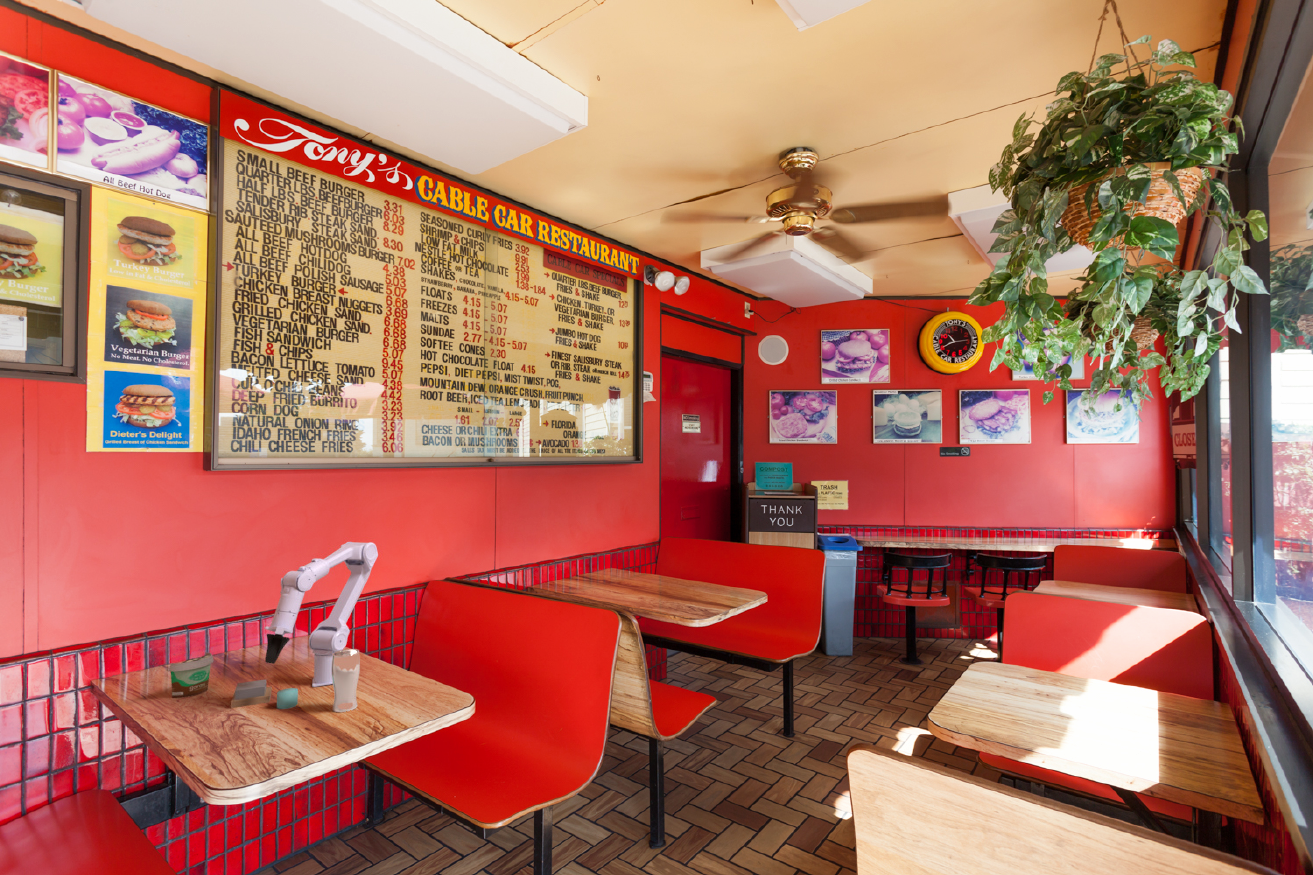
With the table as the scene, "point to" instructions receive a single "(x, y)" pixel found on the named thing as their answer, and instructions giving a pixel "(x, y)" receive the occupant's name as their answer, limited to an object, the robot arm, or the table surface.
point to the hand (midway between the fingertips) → (269, 662)
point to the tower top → (250, 689)
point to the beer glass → (345, 679)
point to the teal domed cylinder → (287, 698)
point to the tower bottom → (252, 699)
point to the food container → (190, 676)
